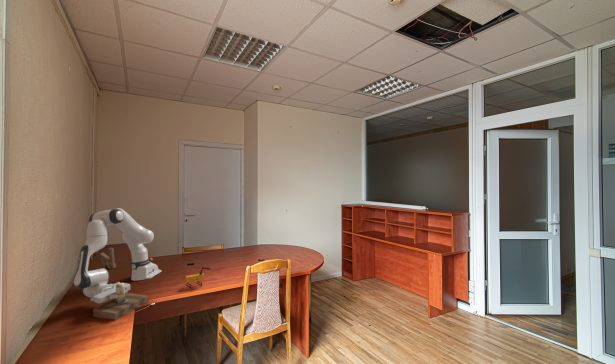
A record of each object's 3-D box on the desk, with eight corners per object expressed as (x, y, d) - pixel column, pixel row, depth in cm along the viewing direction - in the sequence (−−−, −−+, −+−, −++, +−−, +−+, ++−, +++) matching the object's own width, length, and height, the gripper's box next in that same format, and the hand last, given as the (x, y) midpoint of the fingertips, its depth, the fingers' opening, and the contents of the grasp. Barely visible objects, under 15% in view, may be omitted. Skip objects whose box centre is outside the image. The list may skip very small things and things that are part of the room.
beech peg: (123, 303, 176) (121, 281, 175) (132, 304, 173) (130, 282, 173) (111, 309, 169) (109, 286, 168) (120, 311, 166) (118, 287, 165)
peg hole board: (127, 298, 184) (127, 293, 184) (148, 301, 179) (148, 295, 179) (93, 316, 164) (92, 309, 163) (115, 320, 158) (115, 313, 158)
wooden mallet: (104, 267, 248) (102, 248, 247) (116, 267, 248) (114, 247, 247) (101, 269, 245) (99, 249, 244) (113, 268, 244) (111, 248, 243)
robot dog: (211, 285, 201) (210, 267, 200) (184, 289, 195) (183, 271, 194) (211, 282, 206) (210, 264, 205) (185, 286, 200) (184, 268, 199)
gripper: (87, 294, 165) (104, 297, 160) (120, 280, 184) (136, 282, 180) (88, 304, 165) (105, 307, 161) (121, 289, 184) (136, 292, 180)
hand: (121, 294), depth 170 cm, fingers closed on beech peg, 4 cm apart
